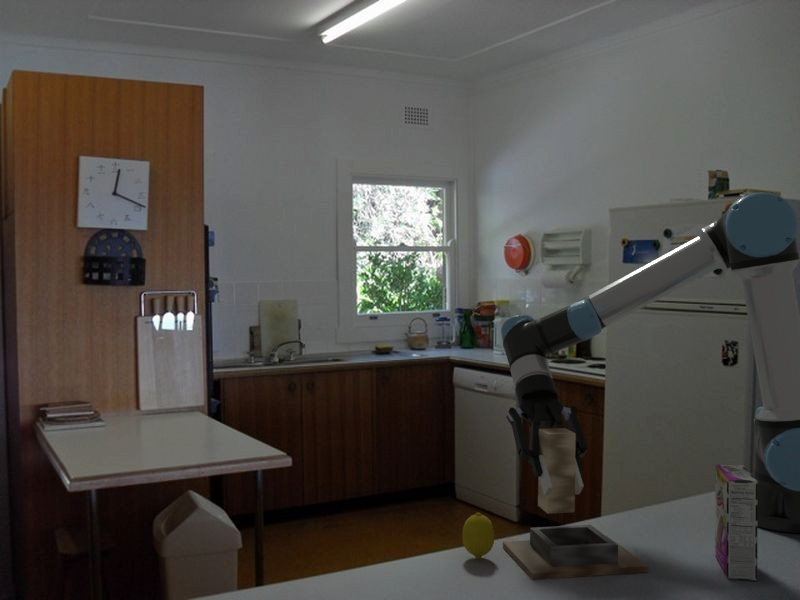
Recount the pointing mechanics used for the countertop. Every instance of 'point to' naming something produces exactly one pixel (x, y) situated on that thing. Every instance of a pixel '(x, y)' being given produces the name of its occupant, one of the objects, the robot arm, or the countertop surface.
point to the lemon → (478, 535)
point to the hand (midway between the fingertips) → (564, 490)
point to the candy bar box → (736, 521)
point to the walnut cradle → (572, 553)
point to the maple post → (558, 470)
